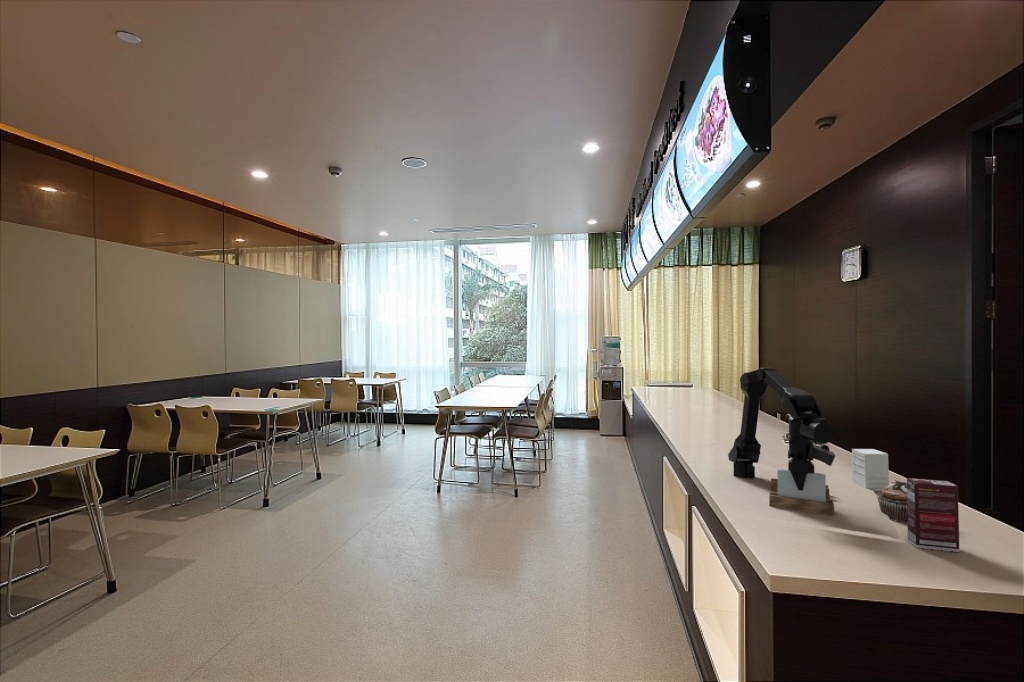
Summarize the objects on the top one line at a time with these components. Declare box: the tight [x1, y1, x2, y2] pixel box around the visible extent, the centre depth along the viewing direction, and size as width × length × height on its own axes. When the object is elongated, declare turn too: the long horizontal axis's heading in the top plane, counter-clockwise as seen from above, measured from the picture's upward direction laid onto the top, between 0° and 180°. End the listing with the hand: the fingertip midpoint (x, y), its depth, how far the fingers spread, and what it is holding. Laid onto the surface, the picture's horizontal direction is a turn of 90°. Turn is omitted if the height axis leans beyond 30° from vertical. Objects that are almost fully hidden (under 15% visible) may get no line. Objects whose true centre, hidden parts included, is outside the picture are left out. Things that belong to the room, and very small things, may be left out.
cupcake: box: [877, 479, 907, 523], centre depth 134 cm, size 10×10×10 cm
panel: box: [777, 468, 827, 502], centre depth 139 cm, size 12×2×10 cm, turn 60°
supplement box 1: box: [851, 448, 890, 492], centre depth 159 cm, size 7×7×13 cm
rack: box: [768, 477, 835, 516], centre depth 146 cm, size 16×20×4 cm
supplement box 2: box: [906, 477, 960, 553], centre depth 115 cm, size 9×5×16 cm, turn 71°
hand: (800, 489), depth 139 cm, fingers closed on panel, 2 cm apart
